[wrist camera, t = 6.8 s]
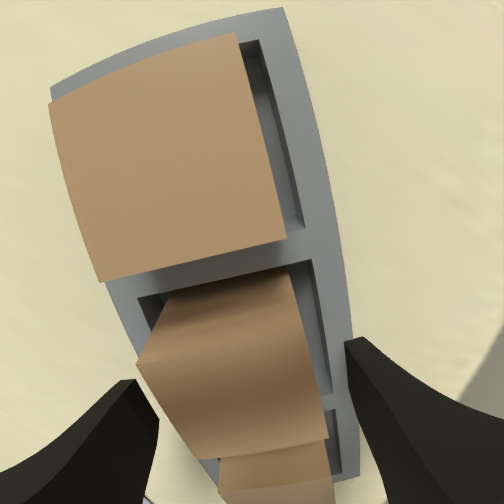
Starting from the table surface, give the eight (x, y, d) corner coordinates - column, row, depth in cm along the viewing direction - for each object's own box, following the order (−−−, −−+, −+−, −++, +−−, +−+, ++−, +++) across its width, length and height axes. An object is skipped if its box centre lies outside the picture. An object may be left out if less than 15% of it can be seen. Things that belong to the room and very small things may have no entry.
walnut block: (308, 351, 14) (329, 438, 9) (211, 373, 14) (197, 459, 9) (284, 258, 12) (303, 329, 7) (173, 287, 13) (135, 364, 8)
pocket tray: (349, 440, 17) (370, 516, 11) (228, 461, 18) (223, 538, 12) (276, 36, 10) (294, -42, 5) (88, 96, 11) (-7, 77, 5)
